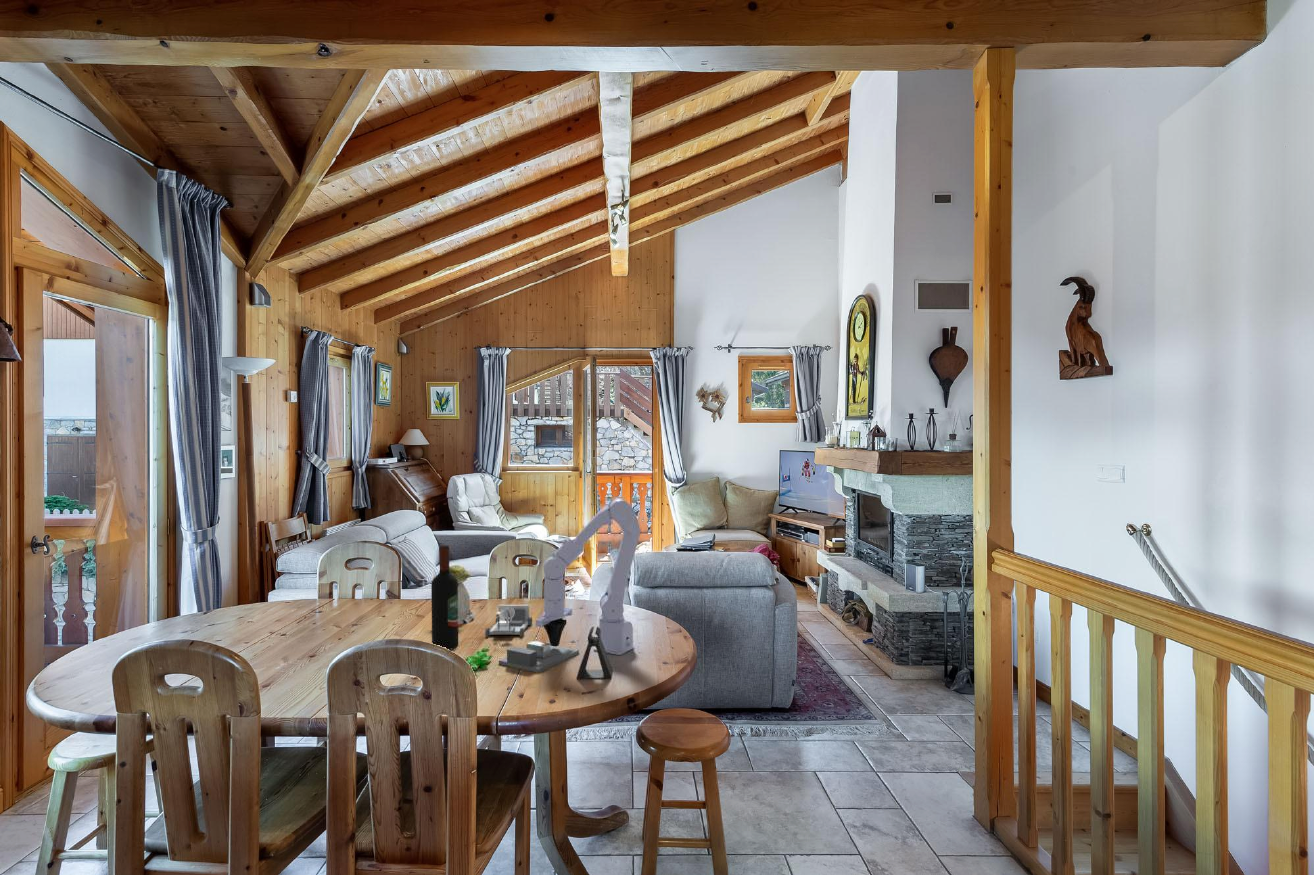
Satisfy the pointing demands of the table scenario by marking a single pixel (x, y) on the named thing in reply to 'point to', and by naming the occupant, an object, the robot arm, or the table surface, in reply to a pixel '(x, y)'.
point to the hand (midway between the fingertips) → (554, 645)
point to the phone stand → (603, 658)
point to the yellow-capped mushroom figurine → (462, 594)
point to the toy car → (510, 620)
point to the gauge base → (547, 660)
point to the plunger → (539, 648)
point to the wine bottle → (444, 604)
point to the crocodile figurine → (479, 659)
